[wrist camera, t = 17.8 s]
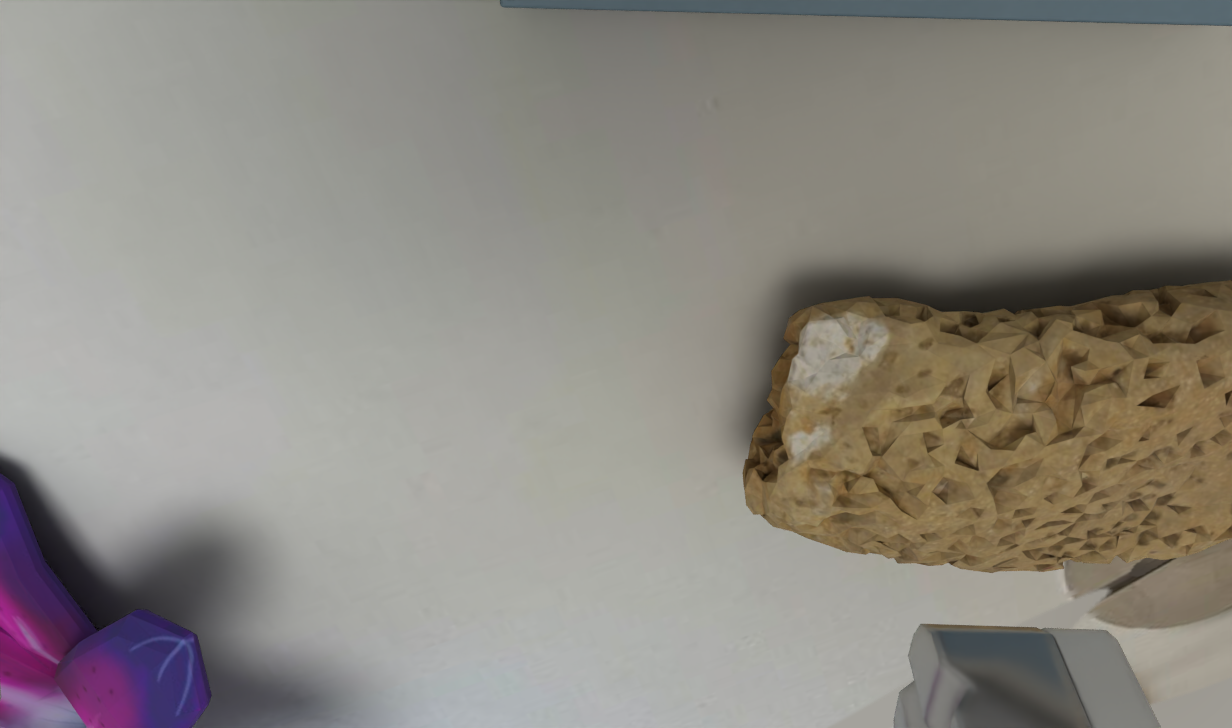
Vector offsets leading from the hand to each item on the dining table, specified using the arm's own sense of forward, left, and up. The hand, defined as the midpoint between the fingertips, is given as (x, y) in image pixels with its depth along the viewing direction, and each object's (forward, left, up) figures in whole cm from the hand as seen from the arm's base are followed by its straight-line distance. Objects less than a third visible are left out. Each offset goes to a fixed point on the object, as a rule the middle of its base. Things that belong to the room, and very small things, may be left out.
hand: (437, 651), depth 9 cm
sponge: (+14, +16, -27) cm, 35 cm away
